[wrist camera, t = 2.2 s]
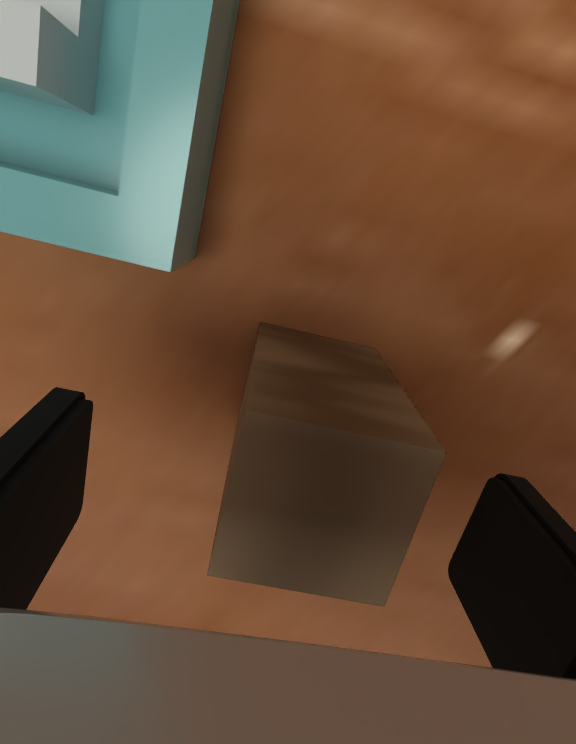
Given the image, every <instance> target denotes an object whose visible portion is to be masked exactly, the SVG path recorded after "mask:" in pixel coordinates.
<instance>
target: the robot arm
mask: <svg viewBox="0 0 576 744" xmlns="http://www.w3.org/2000/svg"><path fill="white" fill-rule="evenodd" d="M92 412H93V402H92V401H90V400H85V394H84V393H83V392H78V391H73V390H68V389H63V388H57V387H56V388H54V389H53V390H51V391H50V392H49V393H48V394H47V395H46V396H45V397H44V398H43V399H42V400H41V401H40V402H38V403H37V404H36V405H35V406H34V407H33V408H32V409H31V410H30V411H29V412H28V413H27V414H25V415H24V416H23V417H22V418H21V419H20V420H19V421H18V422H17V423H16V424H15V425H13V426H12V427H11V428H10V429H9V430H8V431H7V432H6V433H5V434H4V435H3V436H2V437H0V744H576V532H575V531H574V530H573V529H572V528H571V527H570V526H569V525H568V524H567V523H566V522H565V520H564V519H563V518H562V517H561V516H560V515H559V514H558V513H557V512H556V511H555V510H554V509H553V508H552V506H551V505H550V504H549V503H548V502H547V501H546V500H545V499H544V498H543V497H542V496H541V495H540V494H539V492H538V491H537V490H536V489H535V488H534V487H533V486H532V485H531V484H530V483H529V482H528V481H527V480H526V479H525V478H522V477H517V476H512V475H506V474H501V473H500V474H497V475H496V476H495V477H494V478H490V479H489V480H488V481H487V483H486V485H485V487H484V489H483V491H482V493H481V496H480V498H479V500H478V502H477V504H476V506H475V509H474V511H473V513H472V515H471V517H470V519H469V522H468V524H467V526H466V528H465V530H464V532H463V535H462V537H461V539H460V541H459V543H458V545H457V548H456V550H455V552H454V554H453V556H452V558H451V561H450V563H449V567H448V574H449V578H450V581H451V583H452V585H453V587H454V589H455V591H456V593H457V595H458V597H459V599H460V601H461V603H462V605H463V607H464V610H465V612H466V614H467V616H468V618H469V620H470V622H471V624H472V626H473V628H474V630H475V632H476V634H477V636H478V638H479V640H480V642H481V644H482V647H483V649H484V651H485V653H486V655H487V657H488V659H489V661H490V663H491V665H492V667H493V668H489V667H482V666H474V665H467V664H460V663H452V662H445V661H437V660H430V659H422V658H415V657H407V656H400V655H392V654H385V653H377V652H369V651H362V650H354V649H346V648H339V647H331V646H324V645H316V644H308V643H301V642H293V641H285V640H277V639H269V638H261V637H253V636H245V635H237V634H229V633H221V632H213V631H206V630H198V629H190V628H182V627H174V626H166V625H158V624H150V623H142V622H134V621H126V620H118V619H110V618H103V617H95V616H87V615H76V614H65V613H54V612H43V611H32V610H26V609H27V607H28V605H29V604H30V602H31V600H32V598H33V597H34V595H35V593H36V591H37V590H38V588H39V586H40V584H41V583H42V581H43V579H44V577H45V576H46V574H47V572H48V570H49V569H50V567H51V565H52V563H53V562H54V560H55V558H56V556H57V555H58V553H59V551H60V550H61V548H62V546H63V544H64V543H65V541H66V539H67V537H68V536H69V534H70V532H71V530H72V529H73V527H74V525H75V523H76V522H77V520H78V517H79V515H80V512H81V508H82V504H83V495H84V486H85V477H86V468H87V458H88V449H89V440H90V430H91V421H92Z"/></svg>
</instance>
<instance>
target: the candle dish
mask: <svg viewBox="0 0 576 744" xmlns="http://www.w3.org/2000/svg"><path fill="white" fill-rule="evenodd" d="M239 2H240V0H0V231H1V232H5V233H9V234H13V235H17V236H22V237H26V238H30V239H34V240H38V241H42V242H47V243H51V244H55V245H59V246H63V247H67V248H72V249H76V250H80V251H84V252H88V253H92V254H97V255H101V256H105V257H109V258H113V259H117V260H122V261H126V262H130V263H134V264H138V265H142V266H147V267H151V268H155V269H159V270H163V271H167V272H171V271H173V270H175V269H177V268H178V267H180V266H182V265H183V264H185V263H187V262H189V261H190V260H192V259H194V258H195V256H196V250H197V245H198V239H199V233H200V227H201V221H202V216H203V210H204V204H205V198H206V193H207V187H208V181H209V175H210V170H211V164H212V158H213V152H214V147H215V141H216V135H217V129H218V124H219V118H220V112H221V106H222V100H223V95H224V89H225V83H226V77H227V72H228V66H229V60H230V54H231V49H232V43H233V37H234V31H235V26H236V20H237V14H238V8H239Z"/></svg>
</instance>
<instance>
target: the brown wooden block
mask: <svg viewBox="0 0 576 744" xmlns="http://www.w3.org/2000/svg"><path fill="white" fill-rule="evenodd" d="M446 453H447V452H446V451H445V450H444V448H443V447H442V445H441V444H440V442H439V441H438V439H437V438H436V437H435V435H434V434H433V432H432V431H431V429H430V428H429V426H428V425H427V424H426V422H425V421H424V419H423V418H422V416H421V415H420V413H419V412H418V411H417V409H416V408H415V406H414V405H413V403H412V402H411V400H410V399H409V398H408V396H407V395H406V393H405V392H404V390H403V389H402V387H401V386H400V385H399V383H398V382H397V380H396V379H395V377H394V376H393V374H392V373H391V372H390V370H389V369H388V367H387V366H386V364H385V363H384V361H383V360H382V358H381V357H380V356H379V354H378V353H377V351H376V350H375V349H374V348H370V347H366V346H362V345H357V344H353V343H349V342H344V341H340V340H336V339H332V338H327V337H323V336H319V335H315V334H310V333H306V332H302V331H297V330H293V329H289V328H285V327H280V326H276V325H272V324H267V323H263V322H260V325H259V329H258V333H257V338H256V342H255V346H254V351H253V355H252V359H251V364H250V368H249V373H248V377H247V381H246V386H245V390H244V394H243V399H242V403H241V407H240V412H239V416H238V421H237V425H236V430H235V435H234V440H233V445H232V450H231V455H230V461H229V466H228V471H227V476H226V481H225V486H224V492H223V497H222V502H221V507H220V512H219V517H218V522H217V528H216V533H215V538H214V543H213V548H212V553H211V559H210V564H209V569H208V574H207V575H208V576H213V577H219V578H225V579H230V580H236V581H242V582H247V583H253V584H259V585H264V586H270V587H276V588H281V589H287V590H293V591H298V592H304V593H310V594H315V595H321V596H327V597H332V598H338V599H344V600H349V601H355V602H361V603H366V604H372V605H378V606H383V607H384V606H385V603H386V601H387V598H388V596H389V593H390V591H391V589H392V586H393V584H394V581H395V579H396V576H397V574H398V571H399V569H400V566H401V564H402V561H403V559H404V556H405V554H406V551H407V549H408V547H409V544H410V542H411V539H412V537H413V534H414V532H415V529H416V527H417V524H418V522H419V519H420V517H421V514H422V512H423V509H424V507H425V504H426V502H427V500H428V497H429V495H430V492H431V490H432V487H433V485H434V482H435V480H436V477H437V475H438V472H439V470H440V467H441V465H442V462H443V460H444V458H445V455H446Z"/></svg>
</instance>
